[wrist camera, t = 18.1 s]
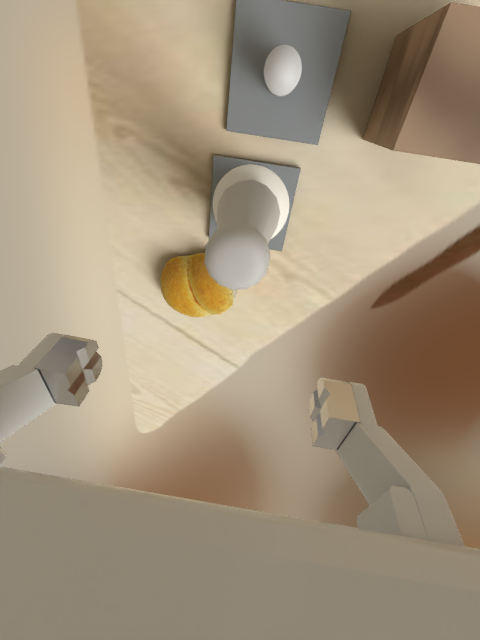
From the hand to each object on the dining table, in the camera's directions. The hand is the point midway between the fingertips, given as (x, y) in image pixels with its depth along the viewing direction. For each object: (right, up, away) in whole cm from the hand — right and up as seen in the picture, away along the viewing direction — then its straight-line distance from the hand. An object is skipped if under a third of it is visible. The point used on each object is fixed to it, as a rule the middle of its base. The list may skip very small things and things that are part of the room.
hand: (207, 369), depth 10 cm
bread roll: (-3, +7, +25) cm, 26 cm away
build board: (+2, +13, +18) cm, 23 cm away
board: (+4, +21, +12) cm, 25 cm away
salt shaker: (+2, +13, +18) cm, 22 cm away
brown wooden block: (+15, +19, +12) cm, 27 cm away
